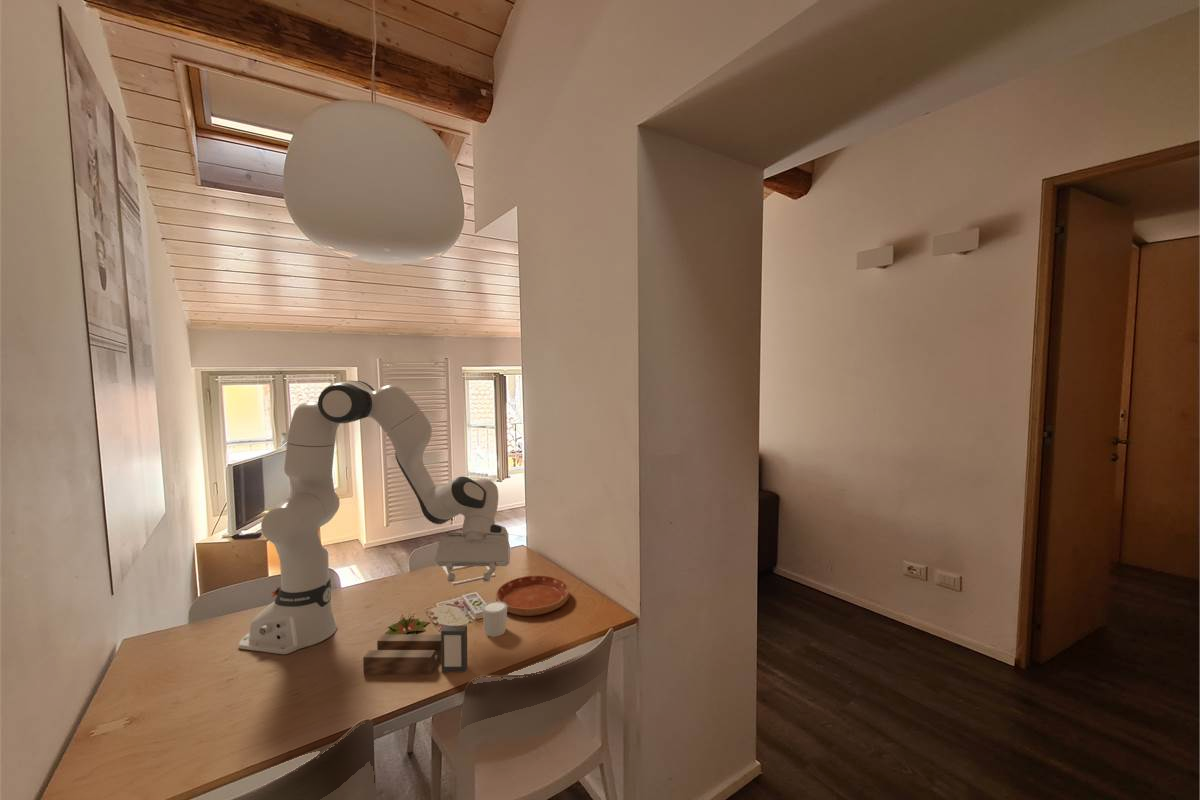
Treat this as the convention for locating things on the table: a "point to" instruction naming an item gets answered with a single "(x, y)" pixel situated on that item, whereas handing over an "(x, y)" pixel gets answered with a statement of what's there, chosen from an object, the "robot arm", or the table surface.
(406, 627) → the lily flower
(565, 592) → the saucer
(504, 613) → the white cylinder
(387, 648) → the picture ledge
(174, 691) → the table surface
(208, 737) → the table surface
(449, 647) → the small frame
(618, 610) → the table surface
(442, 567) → the photo frame
